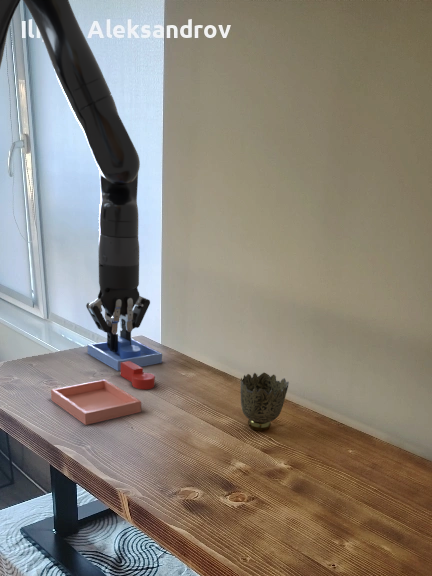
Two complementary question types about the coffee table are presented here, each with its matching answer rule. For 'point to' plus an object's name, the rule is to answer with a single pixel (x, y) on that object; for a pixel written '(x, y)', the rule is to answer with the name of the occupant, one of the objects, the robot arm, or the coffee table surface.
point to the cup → (262, 399)
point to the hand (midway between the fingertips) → (119, 350)
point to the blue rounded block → (127, 349)
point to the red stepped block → (137, 375)
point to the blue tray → (114, 360)
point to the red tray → (95, 401)
